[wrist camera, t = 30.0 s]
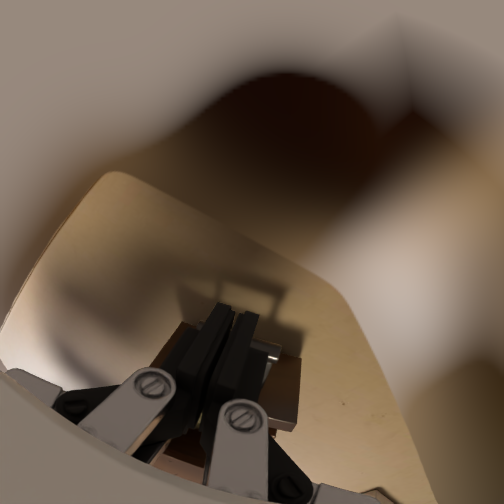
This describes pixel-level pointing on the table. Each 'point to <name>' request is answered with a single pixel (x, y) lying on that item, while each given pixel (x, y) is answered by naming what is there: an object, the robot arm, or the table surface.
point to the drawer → (270, 399)
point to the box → (379, 497)
